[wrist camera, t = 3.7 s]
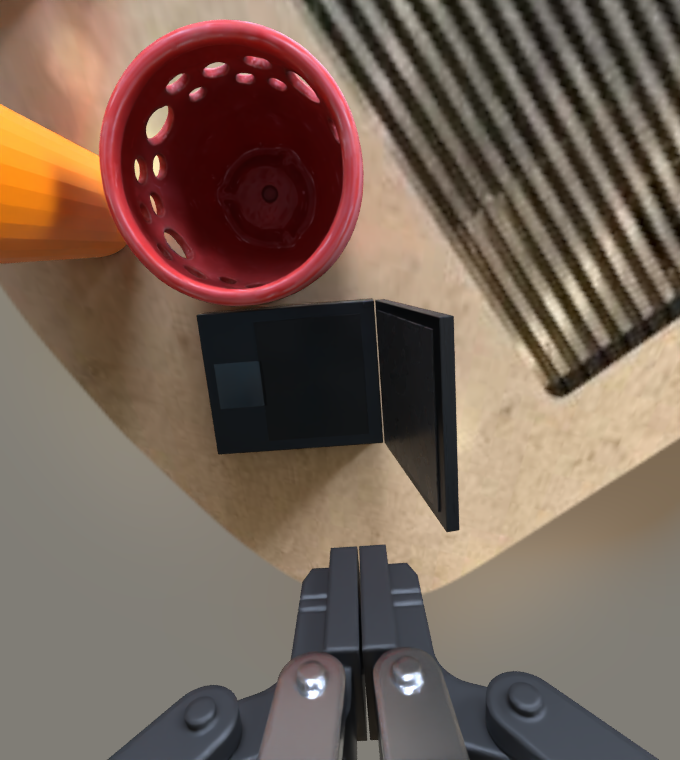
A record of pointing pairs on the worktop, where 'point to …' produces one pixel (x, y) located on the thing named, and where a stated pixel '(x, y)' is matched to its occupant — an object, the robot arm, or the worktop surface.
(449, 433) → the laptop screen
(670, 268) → the worktop surface
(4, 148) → the shaker bottle
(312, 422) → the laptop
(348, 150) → the flower pot
